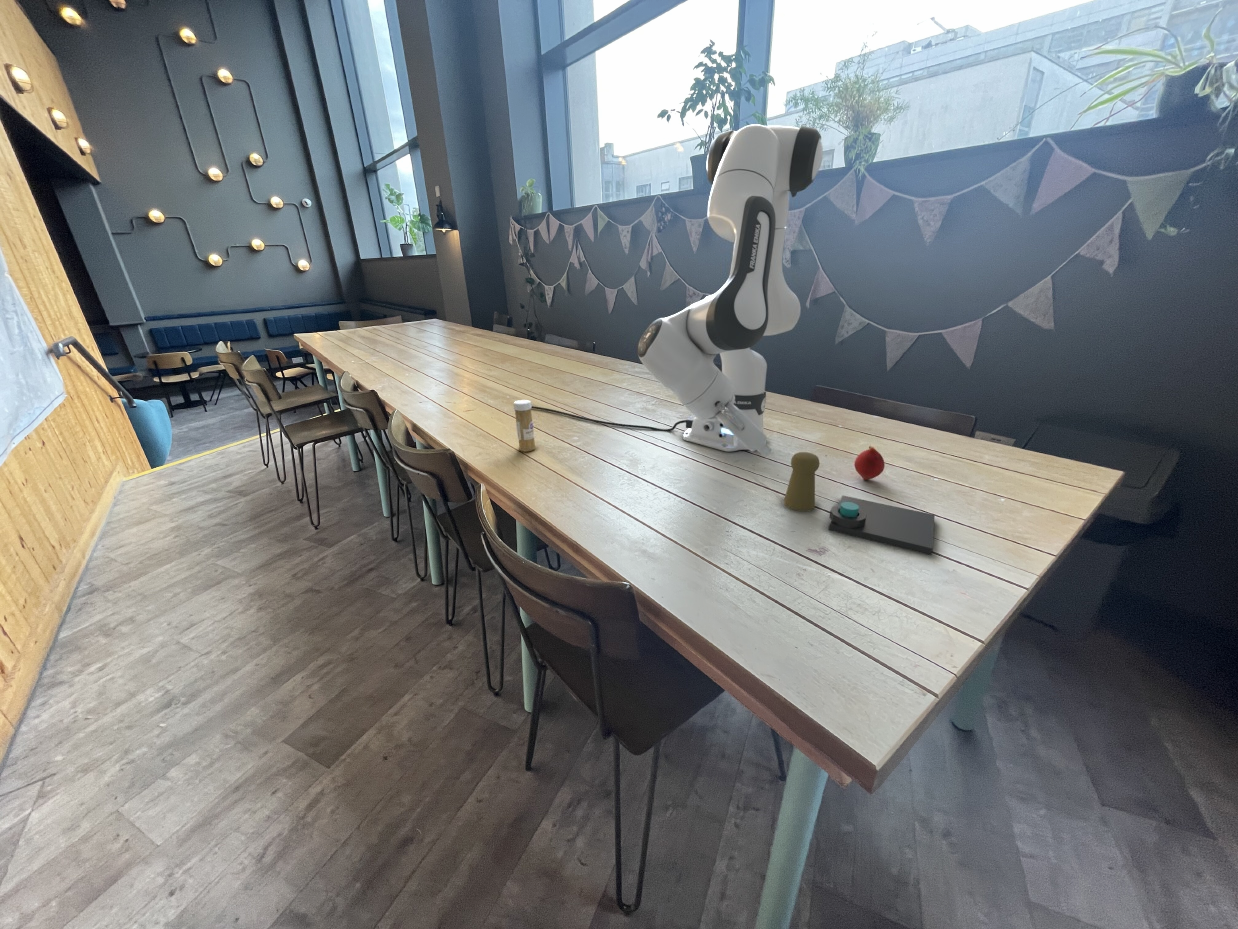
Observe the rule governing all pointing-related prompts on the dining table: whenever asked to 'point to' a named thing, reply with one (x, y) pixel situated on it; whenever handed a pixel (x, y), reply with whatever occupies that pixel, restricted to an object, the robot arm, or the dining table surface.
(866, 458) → the onion
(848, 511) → the button
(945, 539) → the dining table surface
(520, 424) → the sprinkles bottle
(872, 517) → the scale
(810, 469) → the cork
